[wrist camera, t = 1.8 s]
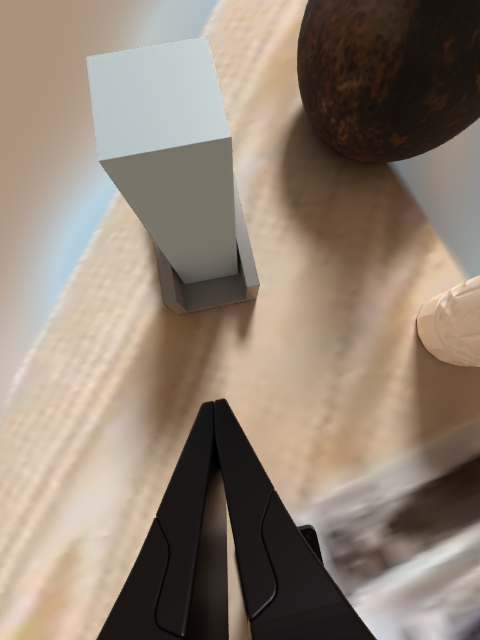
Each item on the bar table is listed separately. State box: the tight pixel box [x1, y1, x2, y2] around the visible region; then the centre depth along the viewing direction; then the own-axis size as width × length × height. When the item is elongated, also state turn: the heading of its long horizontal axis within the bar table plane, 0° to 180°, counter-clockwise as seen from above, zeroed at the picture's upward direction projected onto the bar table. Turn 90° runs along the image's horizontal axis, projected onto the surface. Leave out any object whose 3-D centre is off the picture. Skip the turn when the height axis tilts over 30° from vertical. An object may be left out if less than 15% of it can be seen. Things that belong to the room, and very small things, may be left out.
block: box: [86, 36, 238, 284], centre depth 16 cm, size 5×5×14 cm
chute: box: [154, 172, 260, 315], centre depth 22 cm, size 14×8×4 cm, turn 12°
